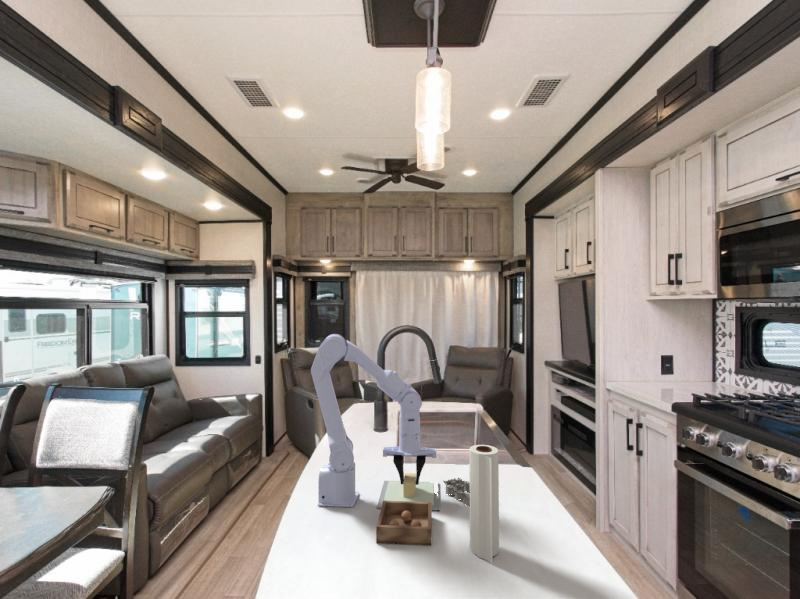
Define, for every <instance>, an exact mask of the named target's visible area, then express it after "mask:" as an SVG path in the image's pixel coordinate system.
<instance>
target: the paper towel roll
mask: <svg viewBox="0 0 800 599" xmlns="http://www.w3.org/2000/svg"><path fill="white" fill-rule="evenodd" d="M468 451H469V482H470V493H469V495H470V505H469V547H470V550H471V552H472V553H473V554H475V555H476V556H477V557H478V558H481V559H482V560H486V561H488V562H489V563H490V564H493V557H496V556H497V554H499V552H500V504H499V503H500V501H499V496H500V494H499V486H500V480H499V449H498V448H497V447H495V446H493V445H488V444H475V445H472V446H470V447H469V450H468Z"/></svg>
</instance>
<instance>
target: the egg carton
mask: <svg viewBox="0 0 800 599" xmlns="http://www.w3.org/2000/svg"><path fill="white" fill-rule="evenodd" d="M442 481H443V483H444V484H445V495H446V494H448V495H449V494H450V495H451V494H452V495H455V496H453V497H454V498H455V499H456V500H455V499H454V500H455V501H457V500H458V499H461V500H460V501H462V500H464V501H463V505H464V504H466V505H467V506H470V494H468V495H466V494H465V493H468V492H470V481H468V480H463V479H462V478H460V477H458V478H455V477H454V478H451V479H447V480H442ZM465 491H467V492H465ZM458 501H459V500H458ZM466 505H465V506H466Z"/></svg>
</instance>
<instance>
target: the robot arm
mask: <svg viewBox="0 0 800 599" xmlns="http://www.w3.org/2000/svg"><path fill="white" fill-rule="evenodd" d="M342 358H343V360H344V362H345V361H346V362H354V363H355V364H357V366H359V367H361V368H362V370H364V371H366V372H367V373H368V374H370V375H371V376H372V377H373V378H374V379H375V380H376V386H377V387H378V388H379V389H380V390H381V391H382V392H384V393H385V394H386V395H387V396H388V397H389V398H390V399H392V400H393V401H394V402H397V403H398V405H400V406H399V419H398V423H399V424H398V426H399V427H398V428H399V429H398V432H399V435H398V436H399V438H398V439H399V440H398V441H399V442H398V445H399V446H397V445H396V446H387V447H386V446H384V447H382V448H383V449H382V457H383V458H387V457H393V459H392V460H393V464H394V466H395V468H396V470H397V472H398V475H399V479H400V480H399V481H401V484H403V482H404V477H405V473H404V471H405V470H404V457H406V458H413V457H415V458H416V460H415V462H416V463H415V468H416V469H415V470H416V473H415V474H416V485H418V484H419V482H420V477H421V474H422V470H423V468H424V466H425V463H426V460H427V459H426V458H431V459H437V448H435V447H434V448H432V447H425V446H421V416H420V413H421V412H420V411H421V410H420V409H421V408H422V406H423V401H422V398H421V395H420V394H419V393H418V392H417V391H416V390H415V388H414V387H412V384H411V383H409V382H408V383H407V382H406V381H405V380H403V379H402V378H401V377H400V374H399V373H398V371H396V370H394V371H393V370H392V369H383V368H382V367H381V366H379V364H377V362H375V361H374V360H373V359H372V358H371V357H370V356H369V355H367V353H365V352H364V351H363V350H362V349H361V348H360V347H358V346H357V345H355V343H353V342H351V341H349V340H348V339H345V337H344V336H343V335H341V334H339V333H332V334H329V335H328V336H326V337H325V338H324V340H323V342H322V343H320V345H319V347H318V349H317V352H316V354H315V357H314V360H313V362H312V366H311V368H310V374H311V377H312V382H313V385H314V389H315V392H316V396H317V399H318V400H317V401H318V404H319V408H320V411H321V412H320V413H321V415H322V418H323V422H324V426H325V430H326V435H327V439H328V446H329V450H330V452H329V456H328V458H329V460H328V461H329V462H328V464H327V465H322V466H321V467H320V470H319V473H318V503H317V506H319V507H338V508H339V507H341V508H342V507H343V508H355V505H356V502H357V499H358V496H359V494H360V491H356V462H354V461H355V456H354V444H353V441H352V440H351V439H350V437H349V436H348V434H347V432H346V428H345V425H344V422H343V418H342V415H341V414H342V413H341V410H340V407H339V403H338V399H337V396H336V391H335V388H334V384H333V381H332V376H331V371H332V369H333V367H334V366H335V364H336V363H338V362H339V361H340V360H341V359H342Z"/></svg>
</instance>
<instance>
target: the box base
mask: <svg viewBox="0 0 800 599" xmlns="http://www.w3.org/2000/svg"><path fill="white" fill-rule="evenodd" d="M379 510H380V511H379V515H378V518H377V522H376V527H375V531H376V532H375V533H376V534H375V539H376V540H375V543H376V544H383V545H404V546H424V547H425V546H427V547H432V539H431V538H432V537H433V536H432V534H433V533H432V532H433V531H432V526H433V525H432V524H433V523H432V521H433V520H432V518H433V517H432V516H433V514H432V512H433V511H432V502H407V501H383V503H382V507H381V509H379Z"/></svg>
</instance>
